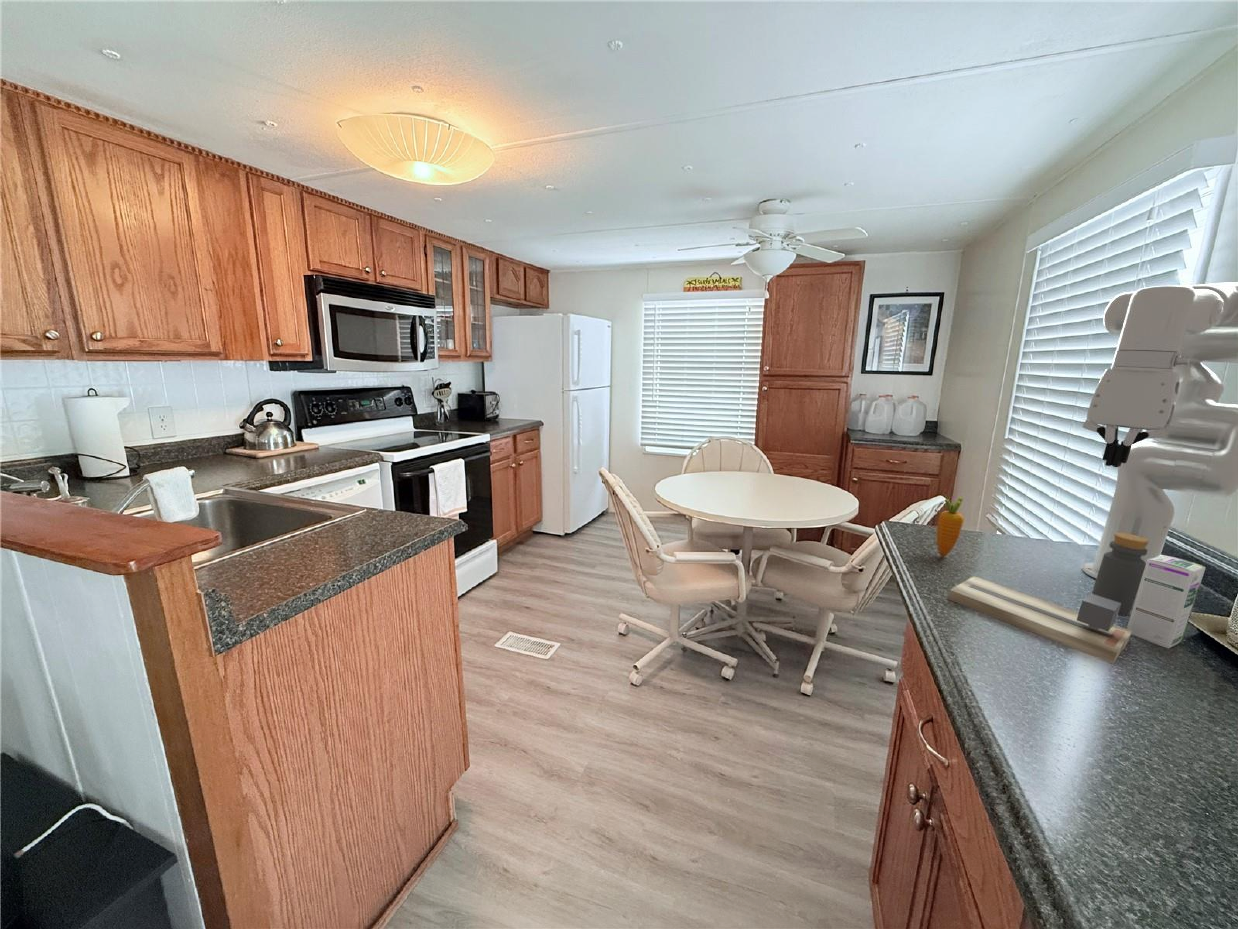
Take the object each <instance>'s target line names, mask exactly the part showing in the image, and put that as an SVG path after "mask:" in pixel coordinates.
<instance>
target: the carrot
mask: <svg viewBox="0 0 1238 929" xmlns="http://www.w3.org/2000/svg"><path fill="white" fill-rule="evenodd" d="M963 500H964V499H963V498H962V497H958V499H957V501H956V503H955V504H953V503H951V502H950V499H947V498H946V499H944V502H945V504H946V507H947V509H948V510H944V511H942V512H941V513H940V514H939V516H938V522H937V527H936V528H937V529H936V545H937V550H938V552H939V554H940V556H941V558H945V557H947V556H948V554H950V553H951V551H952V550H953V549H954V547H955V545H956V543H957V541H958V539H959V536H961V535H960V534H961V531H962V528H963V523H964V520H965V519H964V518H965V517H964V516H963V515H962V514H961V513H959V512H958V510H959V508H960V507H961V505H962V503H963Z"/></svg>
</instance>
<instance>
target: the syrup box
mask: <svg viewBox="0 0 1238 929" xmlns="http://www.w3.org/2000/svg"><path fill="white" fill-rule="evenodd" d="M1205 570H1206V566H1204V565H1203V564H1198V563H1196V562H1194V561H1193V562H1192V561H1189V560H1188V559H1187V560H1186V559H1183V558H1179V557H1175V556H1169V555H1165V554H1162V553H1161V555H1159V556H1157V557H1153V558H1151V559H1148V560H1147V562H1146V566H1145V569H1144V572H1143V576H1142V579H1141V582H1140V585H1139V589H1138V591H1137V594H1136V597H1135V600H1134V603H1133V606H1132V609H1131V612H1130V614H1129V619H1128V622H1127V626H1126V629H1128V630H1131V631H1132V634H1131V636H1135V637H1137V638H1139V639H1142V640H1144V641H1146V642H1148V643H1149V642H1150V643H1151V644H1153V645H1154V644H1155V645H1157V646H1159V647H1163V648H1166V649H1171V648H1172V647H1174V646H1176V645H1178V644H1179V643H1181V642H1183V639H1184V635H1185V632H1186V629H1187V627H1188V622H1189V620H1190V618H1191V614H1192V611H1193V608H1194V605H1195V601H1196V600H1197V595H1198V593H1199V590H1200V587H1201V583H1202V580H1203V577H1204V574H1205V572H1206V571H1205Z"/></svg>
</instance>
